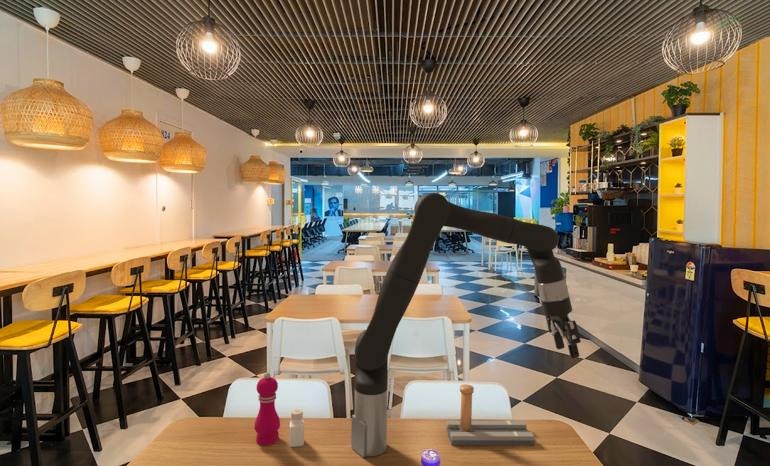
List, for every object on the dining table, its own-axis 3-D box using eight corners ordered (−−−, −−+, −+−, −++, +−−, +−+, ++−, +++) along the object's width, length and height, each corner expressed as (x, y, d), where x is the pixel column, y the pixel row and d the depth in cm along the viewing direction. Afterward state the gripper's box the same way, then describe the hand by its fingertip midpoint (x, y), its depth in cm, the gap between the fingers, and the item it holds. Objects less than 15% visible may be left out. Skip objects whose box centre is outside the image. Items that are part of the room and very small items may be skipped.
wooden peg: (460, 435, 126) (461, 390, 125) (457, 428, 130) (458, 384, 129) (473, 435, 126) (475, 390, 125) (470, 428, 130) (472, 384, 129)
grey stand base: (451, 445, 124) (451, 435, 124) (446, 429, 133) (446, 420, 133) (534, 445, 124) (534, 436, 124) (523, 429, 133) (523, 420, 133)
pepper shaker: (303, 447, 122) (303, 414, 121) (289, 448, 121) (289, 415, 121) (304, 439, 126) (304, 407, 125) (290, 440, 125) (290, 408, 125)
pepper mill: (285, 439, 126) (285, 372, 124) (263, 449, 120) (262, 379, 119) (271, 430, 131) (271, 366, 129) (249, 439, 125) (249, 372, 124)
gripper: (531, 295, 126) (544, 349, 127) (552, 304, 112) (566, 364, 112) (556, 289, 127) (568, 342, 127) (580, 297, 112) (594, 357, 113)
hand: (567, 352), depth 120 cm, fingers open, 8 cm apart
